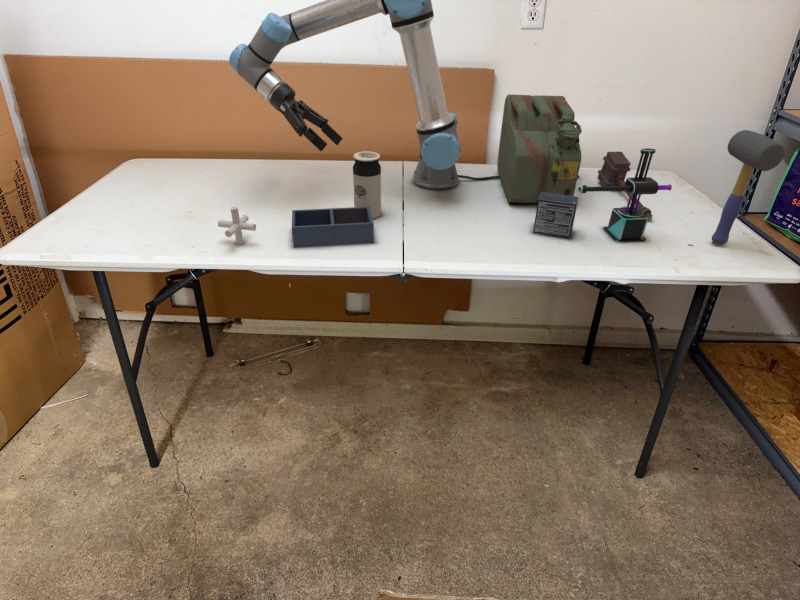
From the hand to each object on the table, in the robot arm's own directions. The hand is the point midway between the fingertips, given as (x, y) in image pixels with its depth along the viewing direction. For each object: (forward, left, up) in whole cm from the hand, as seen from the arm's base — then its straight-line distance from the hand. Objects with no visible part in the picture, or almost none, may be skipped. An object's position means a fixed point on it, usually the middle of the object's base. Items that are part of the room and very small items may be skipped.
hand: (332, 144), depth 152 cm
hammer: (-93, +8, -19) cm, 95 cm away
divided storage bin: (+2, +22, -19) cm, 28 cm away
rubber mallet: (-103, +40, -19) cm, 112 cm away
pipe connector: (+27, +23, -19) cm, 40 cm away
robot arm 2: (-75, +31, -19) cm, 83 cm away
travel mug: (-9, +9, -19) cm, 23 cm away
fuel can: (-66, -6, -19) cm, 69 cm away
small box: (-60, +27, -19) cm, 68 cm away
